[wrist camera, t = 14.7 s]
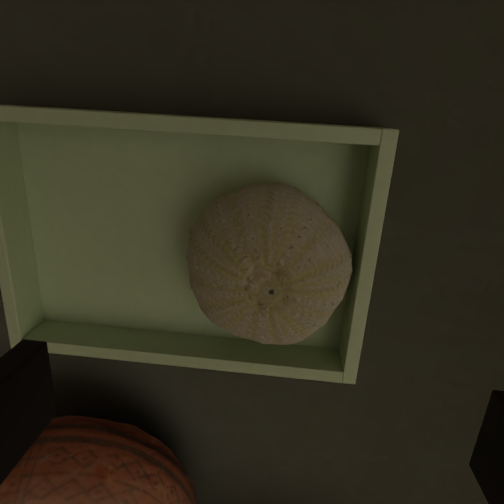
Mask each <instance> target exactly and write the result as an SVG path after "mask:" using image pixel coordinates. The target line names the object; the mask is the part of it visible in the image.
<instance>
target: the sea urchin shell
mask: <svg viewBox="0 0 504 504" xmlns="http://www.w3.org/2000/svg"><path fill="white" fill-rule="evenodd" d="M189 232H190V236H189V245H188V253H187V256H186V258H187V261H188V262H187V263H188V268H189V277H190V286H191V289H192V290H193V293H194V295H195V297H196V299H197V301H198V304H199V306H200V308H201V311H203V314H204V315H206V316H207V317H208V318H209V320H210V321H211V323H212V324H215V325H217V326H218V327H220V328H222V329H224V330H226V331H228V332H230V333H231V334H233V335H234V336H239V337H242V338H246V339H250V340H253V341H255V342H260V343H261V344H277V345H289V344H293V343H296V342H299V341H303V340H304V339H305V338H307V337H308V336H310V335H311V334H312V333H313V332H315V331H316V330H317V329H319V328H320V327H323V326H324V325H325V324H326V322H327V321H328V319H329V317H330V316H331V314H332V313H333V311H334V310H335V308H336V307H337V306H338V305H339V303H340V302H341V301H342V300H343V298H344V294H345V292H346V289H347V286H348V283H349V280H350V276H351V274H352V271H353V270H352V254H351V252H350V250H349V248H348V245H347V243H346V241H345V239H344V236H343V234H342V233H341V230H340V227H339V226H338V225H337V223H336V222H335V221H334V220H332V219H331V218H330V216H329V215H328V214H327V213H326V211H325V210H324V209H323V207H322V206H320V205H319V203H318V201H314V200H313V199H312V198H310V197H308V196H306V195H305V194H303V193H302V192H300V191H299V190H298V189H296V188H294V187H293V186H290V185H286V184H283V183H279V182H270V183H261V184H248V185H247V186H242V187H241V188H239V189H237V190H235V191H233V192H230V193H228V194H226V195H225V194H224V196H222V197H218V198H217V200H216V201H215V202H214V203H213V204H212V205H210V206H209V207H208V208H207V209H205V210H204V211H202V212H201V213H200V214H199V215H198V217H197V219H196V220H195V222H194V224H193V227H192V228H191V230H190V231H189Z"/></svg>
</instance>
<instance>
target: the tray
mask: <svg viewBox="0 0 504 504" xmlns="http://www.w3.org/2000/svg"><path fill="white" fill-rule="evenodd" d="M398 135H399V130H398V129H391V128H383V127H367V126H350V125H334V124H317V123H301V122H284V121H268V120H252V119H235V118H219V117H202V116H186V115H169V114H153V113H136V112H120V111H103V110H87V109H70V108H54V107H37V106H21V105H1V104H0V288H1V294H2V300H3V305H4V311H5V317H6V323H7V328H8V334H9V340H10V346H11V349H12V348H13V347H14V346H15V345H16V344H18V343H19V342H20V341H21V340H22V339H27V340H36V341H45V342H47V347H48V353H55V354H65V355H75V356H84V357H94V358H104V359H113V360H123V361H133V362H143V363H152V364H162V365H172V366H181V367H191V368H201V369H210V370H220V371H230V372H240V373H249V374H259V375H269V376H278V377H288V378H298V379H308V380H317V381H327V382H337V383H346V384H355V382H356V376H357V371H358V365H359V359H360V353H361V348H362V342H363V336H364V330H365V325H366V319H367V313H368V307H369V302H370V296H371V290H372V284H373V279H374V273H375V267H376V261H377V256H378V250H379V244H380V238H381V233H382V227H383V221H384V215H385V210H386V204H387V198H388V192H389V187H390V181H391V175H392V169H393V164H394V158H395V152H396V146H397V141H398ZM270 182H279V183H283V184H286V185H290V186H293V187H294V188H296V189H298V190H299V191H300V192H302V193H303V194H305V195H306V196H308V197H310V198H312V199H313V200H314V201H318V203H319V205H320V206H322V207H323V209H324V210H325V211H326V213H327V214H328V215H329V216H330V218H331V219H332V220H334V221H335V222H336V223H337V225H338V226H339V227H340V230H341V233H342V234H343V236H344V239H345V241H346V243H347V245H348V248H349V250H350V252H351V254H352V270H353V271H352V274H351V276H350V280H349V283H348V286H347V289H346V292H345V294H344V298H343V300H342V301H341V302H340V303H339V305H338V306H337V307H336V308H335V310H334V311H333V313H332V314H331V316H330V317H329V319H328V321H327V322H326V324H325V325H324V326H323V327H320V328H319V329H317V330H316V331H315V332H313V333H312V334H311V335H310V336H308V337H307V338H305V339H304V340H303V341H299V342H296V343H293V344H289V345H277V344H261V343H260V342H255V341H253V340H250V339H246V338H242V337H239V336H234V335H233V334H231V333H230V332H228V331H226V330H224V329H222V328H220V327H218V326H217V325H215V324H212V323H211V321H210V320H209V318H208V317H207V316H206V315H204V314H203V311H201V308H200V306H199V304H198V301H197V299H196V297H195V295H194V293H193V290H192V289H191V286H190V277H189V268H188V263H187V262H188V261H187V258H186V256H187V253H188V245H189V236H190V232H189V231H190V230H191V228H192V227H193V224H194V222H195V220H196V219H197V217H198V215H199V214H200V213H201V212H202V211H204V210H205V209H207V208H208V207H209V206H210V205H212V204H213V203H214V202H215V201H216V200H217V198H218V197H222V196H224V194H225V195H226V194H228V193H230V192H233V191H235V190H237V189H239V188H241V187H242V186H247V185H248V184H261V183H270Z"/></svg>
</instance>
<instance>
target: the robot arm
mask: <svg viewBox="0 0 504 504" xmlns="http://www.w3.org/2000/svg"><path fill="white" fill-rule="evenodd" d="M56 414H57V412H56V405H55V397H54V390H53V383H52V376H51V369H50V361H49V354H48V347H47V342H45V341H36V340H27V339H22V340H21V341H20V342H19V343H18V344H16V345H15V346H14V347H13V348H12V349H10V350H9V351H8V352H7V353H6V354H4V355H3V356H2V357H1V358H0V485H1V484H2V483H3V481H4V480H5V479H6V478H7V476H8V475H9V474H10V472H11V471H12V470H13V469H14V467H15V466H16V465H17V464H18V462H19V461H20V460H21V459H22V457H23V456H24V455H25V453H26V452H27V451H28V450H29V448H30V447H31V446H32V445H33V443H34V442H35V441H36V440H37V438H38V437H39V436H40V434H41V433H42V432H43V431H44V429H45V428H46V427H47V426H48V424H49V423H50V422H51V421H52V419H53V418H54V417H55V415H56ZM469 465H470V467H471V469H472V471H473V473H474V475H475V477H476V479H477V481H478V483H479V485H480V487H481V489H482V491H483V493H484V495H485V497H486V499H487V501H488V503H489V504H504V391H498V390H493V391H492V394H491V397H490V400H489V404H488V407H487V410H486V413H485V416H484V419H483V422H482V426H481V429H480V432H479V435H478V438H477V441H476V444H475V448H474V451H473V454H472V457H471V460H470V463H469Z"/></svg>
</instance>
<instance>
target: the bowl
mask: <svg viewBox="0 0 504 504" xmlns="http://www.w3.org/2000/svg"><path fill="white" fill-rule="evenodd" d="M0 504H197V501H196V496H195V491H194V487H193V483H192V481H191V479H190V478H189V476H188V475H187V473H186V471H185V469H184V468H183V466H182V464H181V463H180V462H179V460H178V459H177V458H176V457H175V455H174V454H173V452H172V451H171V449H170V448H168V447H167V446H166V445H164V444H163V443H162V442H161V441H160V440H159V439H157V438H155V437H153V436H151V435H150V434H148V433H147V432H145V431H143V430H141V429H139V428H138V427H136V426H134V425H130V424H126V423H120V422H115V421H111V420H107V419H100V418H93V417H85V416H63V417H58V418H53V419H52V421H51V422H50V423H49V424H48V426H47V427H46V428H45V429H44V431H43V432H42V433H41V434H40V436H39V437H38V438H37V440H36V441H35V442H34V443H33V445H32V446H31V447H30V448H29V450H28V451H27V452H26V453H25V455H24V456H23V457H22V459H21V460H20V461H19V462H18V464H17V465H16V466H15V467H14V469H13V470H12V471H11V472H10V474H9V475H8V476H7V478H6V479H5V480H4V481H3V483H2V484H1V485H0Z"/></svg>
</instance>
